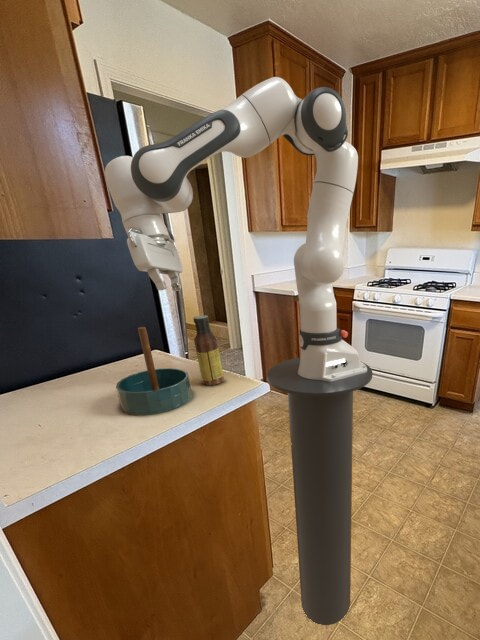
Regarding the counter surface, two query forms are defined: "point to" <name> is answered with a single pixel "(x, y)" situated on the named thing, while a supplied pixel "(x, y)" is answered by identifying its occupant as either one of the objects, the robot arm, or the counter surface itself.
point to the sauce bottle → (207, 352)
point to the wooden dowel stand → (148, 358)
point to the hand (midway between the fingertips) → (170, 290)
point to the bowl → (154, 392)
